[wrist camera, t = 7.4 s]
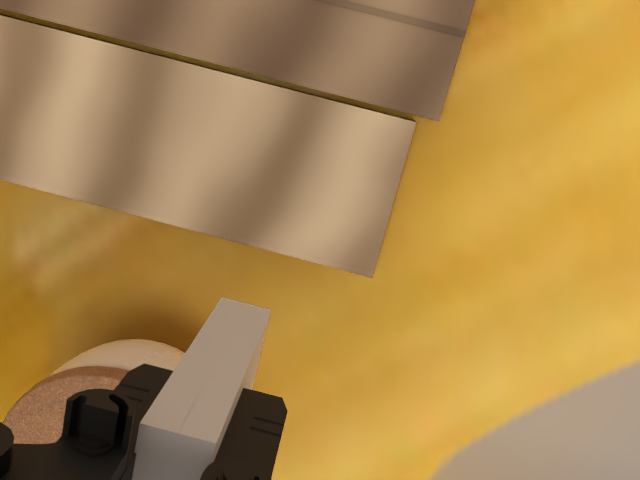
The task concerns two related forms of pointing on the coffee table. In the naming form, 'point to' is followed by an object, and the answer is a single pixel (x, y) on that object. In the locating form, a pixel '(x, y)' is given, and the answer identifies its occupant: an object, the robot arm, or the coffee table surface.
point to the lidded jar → (82, 385)
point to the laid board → (294, 40)
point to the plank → (198, 146)
